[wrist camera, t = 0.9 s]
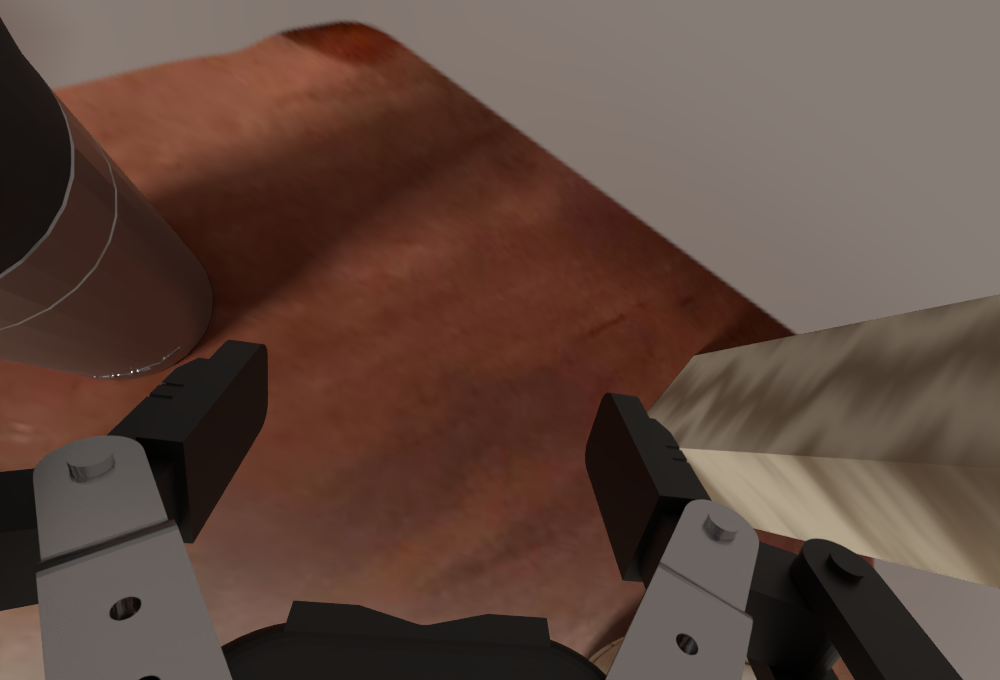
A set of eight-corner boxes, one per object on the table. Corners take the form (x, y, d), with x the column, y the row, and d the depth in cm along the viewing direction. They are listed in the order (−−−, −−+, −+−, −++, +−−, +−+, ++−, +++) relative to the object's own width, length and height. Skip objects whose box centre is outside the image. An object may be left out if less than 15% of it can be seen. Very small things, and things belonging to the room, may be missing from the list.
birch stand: (680, 510, 38) (1917, 814, 8) (620, 444, 38) (1718, 514, 8) (747, 417, 42) (1808, 393, 12) (694, 355, 41) (1665, 160, 11)
